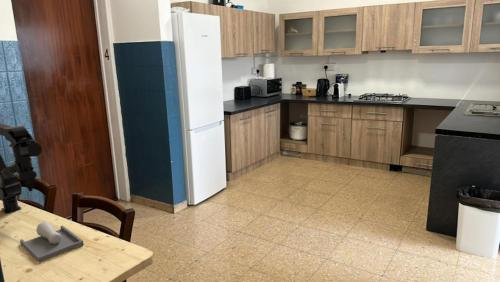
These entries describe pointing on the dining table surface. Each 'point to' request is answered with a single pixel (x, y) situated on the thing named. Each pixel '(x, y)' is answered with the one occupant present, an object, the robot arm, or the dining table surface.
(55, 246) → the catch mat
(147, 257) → the dining table surface
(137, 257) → the dining table surface
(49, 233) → the salt shaker
